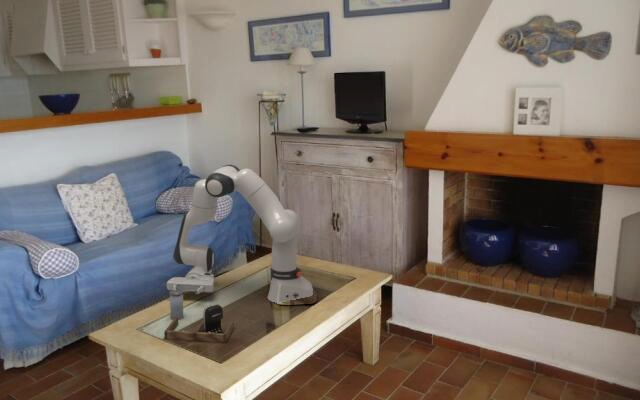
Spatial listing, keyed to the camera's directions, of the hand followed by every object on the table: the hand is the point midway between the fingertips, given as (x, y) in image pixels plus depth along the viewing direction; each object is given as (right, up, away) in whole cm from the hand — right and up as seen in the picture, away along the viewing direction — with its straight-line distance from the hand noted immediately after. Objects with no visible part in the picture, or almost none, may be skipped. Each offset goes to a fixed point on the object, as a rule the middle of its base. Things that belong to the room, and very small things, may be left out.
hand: (185, 291), depth 230 cm
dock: (+11, -12, -23) cm, 29 cm away
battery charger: (+17, -12, -24) cm, 32 cm away
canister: (-1, -9, -10) cm, 14 cm away
